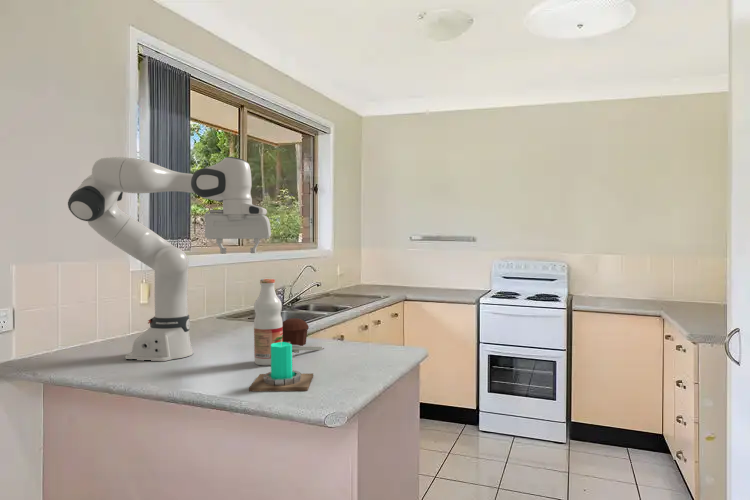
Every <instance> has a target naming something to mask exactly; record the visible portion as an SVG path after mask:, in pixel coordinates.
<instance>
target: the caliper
mask: <svg viewBox="0 0 750 500" xmlns="http://www.w3.org/2000/svg"><path fill="white" fill-rule="evenodd" d="M286 343H290V342H286ZM324 349H325V348H324V347H323V346H322V345H321V346H318V345H317V346H316V345H315V346H314V345H313V346H312V345H311V346H310V345H309V346H308V345H303V346H300V345H292V353H295V354H299V353H300V351H322V350H324Z"/></svg>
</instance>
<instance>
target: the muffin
mask: <svg viewBox="0 0 750 500" xmlns="http://www.w3.org/2000/svg"><path fill="white" fill-rule="evenodd" d="M282 323H283V342H290V344H292V345H300V346H306V345H307V336H308V331H309V327H310V326H309V325H308V323H307V322H306V321H305V320H303V319H301V318H297V317H295V318H294V317H292V318H288V319H285V320H284V321H282Z"/></svg>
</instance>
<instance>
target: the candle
mask: <svg viewBox="0 0 750 500" xmlns="http://www.w3.org/2000/svg"><path fill="white" fill-rule="evenodd" d="M292 370H293V352H292V344H290V343H286V342H282V339H281V342H277V343H272V344H271V365H270V372H271V378H276V379H284V378H291V377H292Z"/></svg>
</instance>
